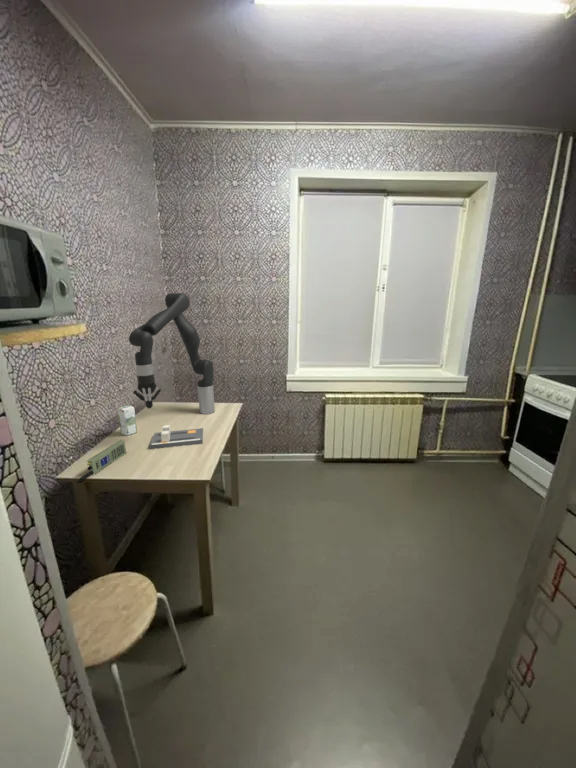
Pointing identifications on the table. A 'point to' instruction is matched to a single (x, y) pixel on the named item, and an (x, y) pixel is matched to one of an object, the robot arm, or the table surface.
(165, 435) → the outer switch
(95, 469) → the handheld radio
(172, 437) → the switch panel
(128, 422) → the syrup box
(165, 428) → the inner switch
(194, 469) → the table surface
